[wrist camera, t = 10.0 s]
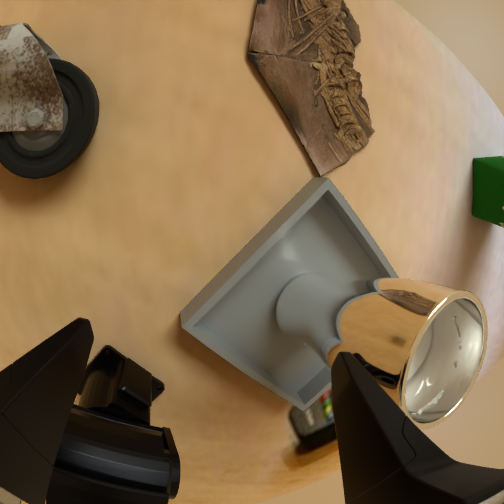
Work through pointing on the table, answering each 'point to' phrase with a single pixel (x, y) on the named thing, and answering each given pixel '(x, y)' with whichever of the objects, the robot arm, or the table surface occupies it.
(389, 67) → the table surface
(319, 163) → the wooden fragment
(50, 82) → the caster wheel
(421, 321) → the metal tumbler
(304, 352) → the tray
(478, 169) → the milk carton
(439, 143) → the table surface
